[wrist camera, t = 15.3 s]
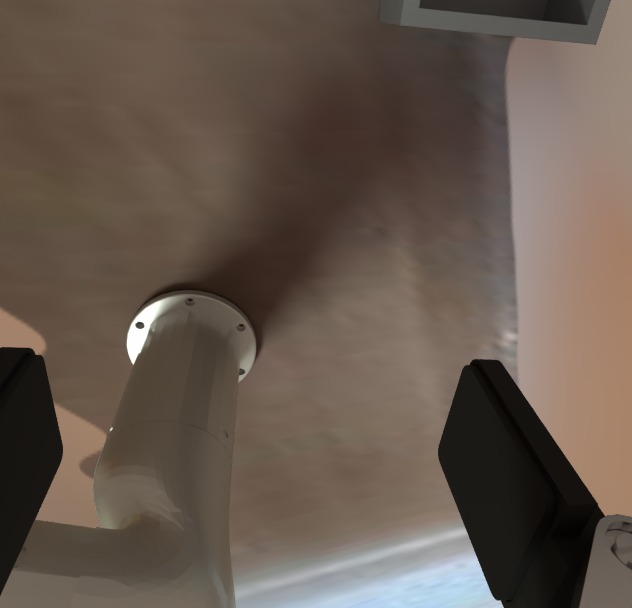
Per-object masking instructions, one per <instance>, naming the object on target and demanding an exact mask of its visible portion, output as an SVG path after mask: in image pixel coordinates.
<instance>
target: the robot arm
mask: <svg viewBox="0 0 632 608" xmlns="http://www.w3.org/2000/svg"><path fill="white" fill-rule="evenodd" d="M189 298H191V299H189ZM126 344H127V352H128V355H129V357H130V360H131V362H132V364H133V368H132V370H131V373H130V376H129V378H128V381H127V384H126V387H125V389H124V392H123V395H122V397H121V400H120V403H119V406H118V408H117V411H116V414H115V416H114V419H113V422H112V424H111V427H110V430H109V433H108V435H107V438H106V441H105V444H104V447H103V450H102V452H101V454H100V457H99V460H98V463H97V466H96V469H95V474H94V483H93V493H94V502H95V507H96V511H97V514H98V518H99V521H100V523H101V526H102V528H99V527H97V528H90V527H83V526H76V525H69V524H61V523H55V522H48V521H41V520H35V518H36V516H37V514H38V512H39V509H40V507H41V505H42V503H43V501H44V498H45V496H46V494H47V491H48V490H49V487H50V485H51V483H52V481H53V478H54V476H55V474H56V472H57V470H58V467H59V465H60V463H61V460H62V454H63V445H62V440H61V435H60V431H59V427H58V422H57V417H56V413H55V408H54V403H53V399H52V394H51V390H50V385H49V381H48V376H47V372H46V367H45V362H44V359H43V357H42V356H41V355H35V352H34V351H33V349H30V348H14V347H2V348H0V608H236V602H235V593H234V584H233V575H232V566H231V556H230V542H229V505H230V487H231V473H232V460H233V447H234V434H235V420H236V407H237V394H238V383H239V382H240V381H241V380H242V379H244V378H245V377H246V375H247V374H248V373H249V371H250V370H251V368H252V366H253V363H254V361H255V356H256V336H255V332H254V329H253V327H252V325H251V323H250V321H249V320H248V318H247V317H246V315H245V314H244V313H243V312H242V311H241V310H240V309H239V308H238V307H237V306H235V305H234V304H232V303H231V302H229V301H228V300H226V299H224V298H222V297H220V296H217V295H215V294H212V293H207V292H203V291H196V290H181V291H173V292H169V293H165V294H162V295H160V296H158V297H156V298H154V299H151V300H150V301H149V302H147V303H146V304H145V305H143V306H142V307H141V309H140V310H139V311H138V312H137V313H136V314H135V316H134V318H133V320H132V322H131V324H130V327H129V330H128V332H127V341H126ZM438 457H439V461H440V464H441V467H442V469H443V472H444V474H445V477H446V479H447V482H448V485H449V487H450V490H451V492H452V495H453V497H454V500H455V502H456V505H457V507H458V510H459V512H460V515H461V518H462V520H463V523H464V525H465V528H466V530H467V533H468V535H469V538H470V540H471V543H472V545H473V548H474V551H475V553H476V556H477V558H478V561H479V563H480V566H481V568H482V571H483V573H484V576H485V578H486V581H487V584H488V586H489V589H490V591H491V593H492V595H493V597H494V598H495V599H496V600H501V602H502V604H503V607H504V608H632V517H630V516H624V515H619V514H616V515H607V516H605V515H604V514H603V512H602V511H601V509H600V508H599V507H598V504H597V502H596V501H595V499H594V498H593V497H592V495H591V493H590V492H589V491H588V489H587V487H586V486H585V485H584V483H583V482H582V480H581V479H580V477H579V476H578V474H577V473H576V471H575V470H574V468H573V467H572V465H571V464H570V463H569V461H568V460H567V458H566V457H565V455H564V454H563V452H562V451H561V449H560V448H559V446H558V445H557V444H556V442H555V441H554V439H553V438H552V436H551V435H550V433H549V432H548V430H547V429H546V427H545V426H544V424H543V423H542V422H541V420H540V419H539V417H538V416H537V414H536V413H535V411H534V410H533V408H532V407H531V405H530V404H529V403H528V401H527V400H526V398H525V397H524V395H523V394H522V392H521V391H520V389H519V388H518V386H517V385H516V383H515V382H514V381H513V379H512V378H511V376H510V375H509V373H508V372H507V370H506V369H505V367H504V366H503V364H502V363H501V362H500V361H498V360H483V359H475V360H472V362H471V363H470V365H466V366H464V368H463V370H462V373H461V376H460V379H459V383H458V386H457V389H456V392H455V395H454V399H453V402H452V405H451V408H450V412H449V415H448V418H447V421H446V424H445V428H444V431H443V434H442V437H441V441H440V444H439V448H438Z"/></svg>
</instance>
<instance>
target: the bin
mask: <svg viewBox="0 0 632 608" xmlns="http://www.w3.org/2000/svg"><path fill="white" fill-rule="evenodd" d="M610 1H611V0H381V4H380V12H379V20H378V21H379V22H385V23H390V24H395V25H401V26H411V27H421V28H432V29H442V30H452V31H462V32H472V33H482V34H492V35H503V36H513V37H523V38H533V39H543V40H553V41H564V42H574V43H584V44H594V45H596V42H597V39H598V36H599V33H600V31H601V28H602V25H603V22H604V19H605V16H606V13H607V10H608V7H609V4H610Z"/></svg>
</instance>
